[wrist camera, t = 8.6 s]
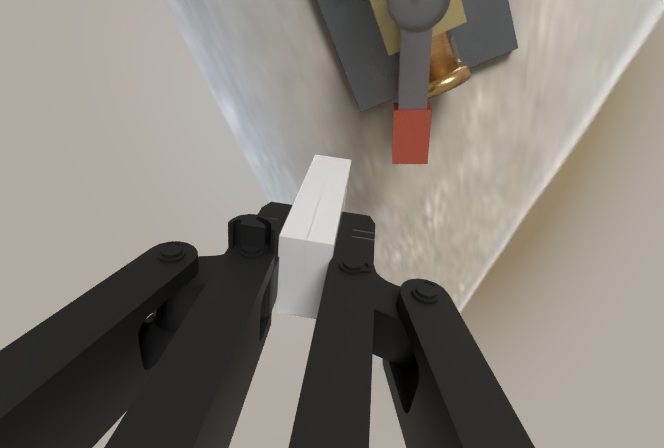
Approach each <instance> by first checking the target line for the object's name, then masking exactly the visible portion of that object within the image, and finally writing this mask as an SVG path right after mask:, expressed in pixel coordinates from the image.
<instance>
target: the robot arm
mask: <svg viewBox="0 0 664 448" xmlns="http://www.w3.org/2000/svg"><path fill="white" fill-rule="evenodd" d="M350 166H351V160H349V159H342V158H335V157H329V156H322V155H315V156H314V159H313V161H312V163H311V165H310V168H309V170H308V172H307V174H306V177H305V179H304V181H303V183H302V186H301V188H300V190H299V192H298V195H297V197H296V199H295V201H294V204H293V205H289V204H282V203H276V202H270V203H269V204H267V205H265V206H264V207H262V208H261V210H260V212H259V213H258V215H255V214H247V215H240V216H237V217H235V218H233V219H231V220H230V221H229V222H228V244H229V248H228V249H227V251H226V252H225V254H223V255H217V256H199V257H198V252H197V250H196V248H195V247H194V246H192V245H190V244H188V243H184V242H177V241H175V242H173V241H172V242H166V243H162V244H159V245H157V246H154V247H152V248H151V249H149V250H148V251H146V252H145V253H143V254H142V255H140V256H139V257H138V258H136V259H135V260H133V261H132V262H130V263H129V264H127V265H126V266H124V267H123V268H121V269H120V270H118V271H117V272H115V273H114V274H112V275H111V276H109V277H108V278H107V279H105V280H104V281H102V282H101V283H99V284H98V285H96V286H95V287H93V288H92V289H90V290H89V291H87V292H86V293H84V294H83V295H81V296H80V297H79V298H77V299H76V300H74V301H73V302H71V303H70V304H68V305H67V306H65V307H64V308H62V309H61V310H59V311H58V312H56V313H55V314H53V315H52V316H51V317H49V318H48V319H46V320H45V321H43V322H42V323H40V324H39V325H37V326H36V327H34V328H33V329H31V330H30V331H28V332H27V333H25V334H24V335H22V336H21V337H20V338H18V339H17V340H15V341H14V342H12V343H11V344H9V345H8V346H6V347H5V348H3V349H2V350H0V448H92V447H93V446H94V445H95V444H96V443H97V442H98V441H99V440H100V439H101V438H102V437H103V436H104V434H105V433H106V432H107V431H108V430H109V429H110V428H111V427H112V426H113V425H114V424H115V423H116V422H117V421H118V420H119V418H120V417H121V416H122V415H123V414H124V413H125V412H126V411H127V412H126V414H125V415H124V417H123V418H122V420H121V422H120V423H119V425H118V427H117V428H116V430H115V431H114V433H113V435H112V436H111V438H110V439H109V441H108V443H107V444H106V446H105V447H104V448H228V447H229V445H230V442H231V439H232V436H233V433H234V430H235V427H236V424H237V421H238V418H239V416H240V413H241V410H242V407H243V404H244V401H245V398H246V395H247V392H248V390H249V387H250V384H251V381H252V377H253V375H254V372H255V369H256V366H257V363H258V361H259V357H260V355H261V352H262V349H263V346H264V343H265V340H266V337H267V334H268V331H269V329H270V325H271V314H272V313H271V312H272V308H273V306H274V304H275V312H277V313H283V314H289V315H295V316H301V317H307V318H314V319H316V324H315V328H314V333H313V338H312V342H311V347H310V351H309V356H308V361H307V366H306V370H305V375H304V379H303V384H302V389H301V393H300V398H299V403H298V407H297V411H296V416H295V421H294V426H293V430H292V435H291V439H290V444H289V448H369V428H370V404H371V377H372V354H374V355H376V356H379V357H381V358H383V367H384V371H385V374H386V377H387V381H388V385H389V388H390V392H391V395H392V399H393V402H394V406H395V409H396V413H397V416H398V420H399V423H400V427H401V430H402V433H403V437H404V441H405V444H406V448H535V447H534V445H533V444H532V442H531V440H530V438H529V436H528V435H527V433H526V431H525V429H524V427H523V426H522V424H521V422H520V420H519V418H518V417H517V415H516V413H515V411H514V410H513V408H512V406H511V404H510V402H509V401H508V399H507V397H506V395H505V394H504V392H503V390H502V388H501V386H500V385H499V383H498V381H497V379H496V377H495V376H494V374H493V372H492V370H491V369H490V367H489V365H488V363H487V362H486V360H485V358H484V356H483V354H482V353H481V351H480V349H479V347H478V346H477V344H476V342H475V340H474V338H473V337H472V335H471V333H470V331H469V329H468V328H467V326H466V324H465V322H464V321H463V319H462V317H461V315H460V313H459V312H458V310H457V308H456V306H455V304H454V303H453V301H452V299H451V297H450V296H449V294H448V293H447V292H446V291H445V289H444V288H442V287H441V286H439V285H438V284H436V283H434V282H431V281H428V280H424V279H410V280H407V281H406V282H404V283H403V284H402V285H401V287H400V286H397V285H395V284H392V283H390V282H388V281H386V280H384V279H383V278H381V277H380V276H379V275H378V274H377V273H376V270H375V267H374V265H373V263H374V239H375V223H374V222H373V220H372V219H371V217H370V216H367V215H360V214H354V213H347V212H344V207H345V200H346V194H347V187H348V180H349V173H350ZM151 313H153V314H152V315H150V314H151ZM149 315H150V316H149ZM148 316H149V317H148ZM147 317H148V318H147ZM146 318H147V319H146Z"/></svg>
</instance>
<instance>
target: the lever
mask: <svg viewBox="0 0 664 448" xmlns="http://www.w3.org/2000/svg"><path fill="white" fill-rule="evenodd" d="M450 1H451V0H387V8H388V11H389V14H390V16H391V18H392V20H393V21H394V22H395V23H396V24H397V25H398V26H399V27H400V54H399V81H398V103H394V106H393V138H392V164H427V163H428V150H429V137H430V124H431V111H432V110H431V108H430V105H429V103H427V99H428V85H429V71H430V57H431V43H432V28H433V27H434V26H435V25H436V24H437V23H439V22H440V21H441V19H442V18H443V17H444V15H445V14H446V12H447V10H448V7H449V5H450Z"/></svg>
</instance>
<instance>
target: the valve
mask: <svg viewBox="0 0 664 448" xmlns="http://www.w3.org/2000/svg"><path fill="white" fill-rule="evenodd" d="M317 2H318V5H319V7H320V10H321V12H322V15H323V17H324V20H325V22H326V25H327V28H328V30H329V33H330V35H331V38H332V40H333V43H334V45H335V48H336V51H337V53H338V56H339V58H340V61H341V63H342V66H343V68H344V71H345V74H346V76H347V79H348V81H349V84H350V86H351V89H352V91H353V94H354V96H355V99H356V102H357V104H358V107H359V109H360V112H361V111H364V110H366V109H369V108H371V107H374V106H376V105H379V104H381V103H384V102H386V101H389V100H391V99H394V98H396V97H398V81H399V54H400V27H399V26H398V25H397V24H396V23H395V22H394V21H393V20H392V18H391V16H390V14H389V11H388V8H387V0H317ZM517 48H518V45H517V40H516V35H515V30H514V26H513V21H512V16H511V11H510V7H509V2H508V0H451V1H450V5H449V7H448V10H447V12H446V14H445V15H444V17H443V18H442V19H441V21H440V22H439V23H437V24H436V25H435V26H434V27H433V28H432V43H431V57H430V71H429V85H428V98H430V97H433V96H436V95H439V94H441V93H444V92H446V91H449V90H451V89H453V88H455V87H457V86H459V85H461V84H462V83H464V82H465V81H467V80H468V79H469V78H470V77H471V72H470V67H473V66H475V65H478V64H480V63H483V62H485V61H488V60H490V59H493V58H495V57H498V56H500V55H502V54H505V53H507V52H510V51H512V50H515V49H517Z"/></svg>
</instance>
